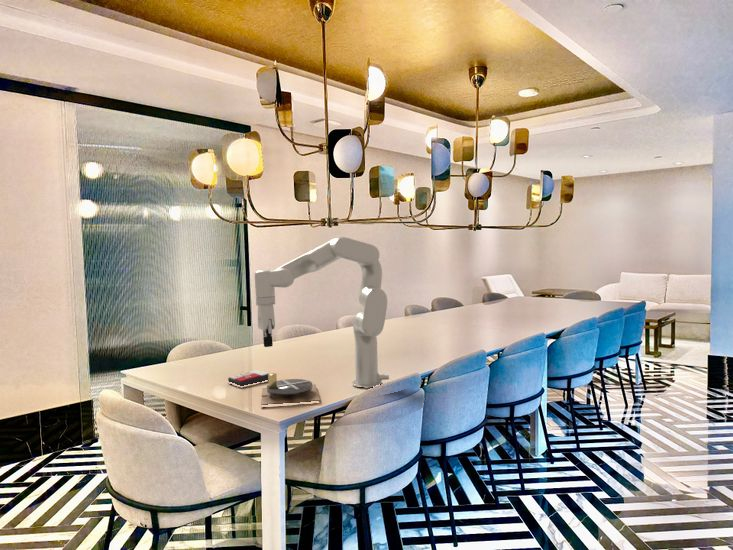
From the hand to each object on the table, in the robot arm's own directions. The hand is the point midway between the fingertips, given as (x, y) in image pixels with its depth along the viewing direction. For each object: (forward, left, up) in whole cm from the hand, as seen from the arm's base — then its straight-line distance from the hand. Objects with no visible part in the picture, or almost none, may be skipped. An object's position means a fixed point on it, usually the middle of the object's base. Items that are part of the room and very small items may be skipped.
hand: (268, 346), depth 204 cm
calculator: (+9, -23, -21) cm, 33 cm away
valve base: (-8, +4, -20) cm, 22 cm away
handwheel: (-8, +4, -19) cm, 20 cm away
